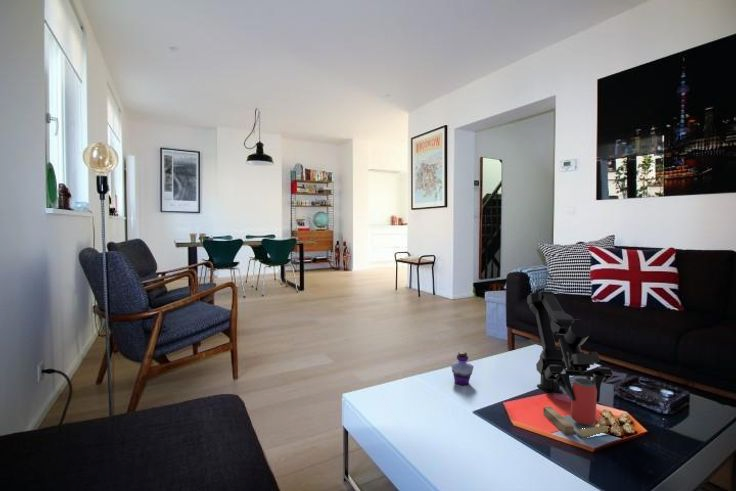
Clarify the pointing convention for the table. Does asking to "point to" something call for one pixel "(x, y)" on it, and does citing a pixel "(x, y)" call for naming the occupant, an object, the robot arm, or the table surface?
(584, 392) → the beer can
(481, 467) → the table surface
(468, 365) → the potion bottle
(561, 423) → the walnut rail
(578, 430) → the grey flat slab
